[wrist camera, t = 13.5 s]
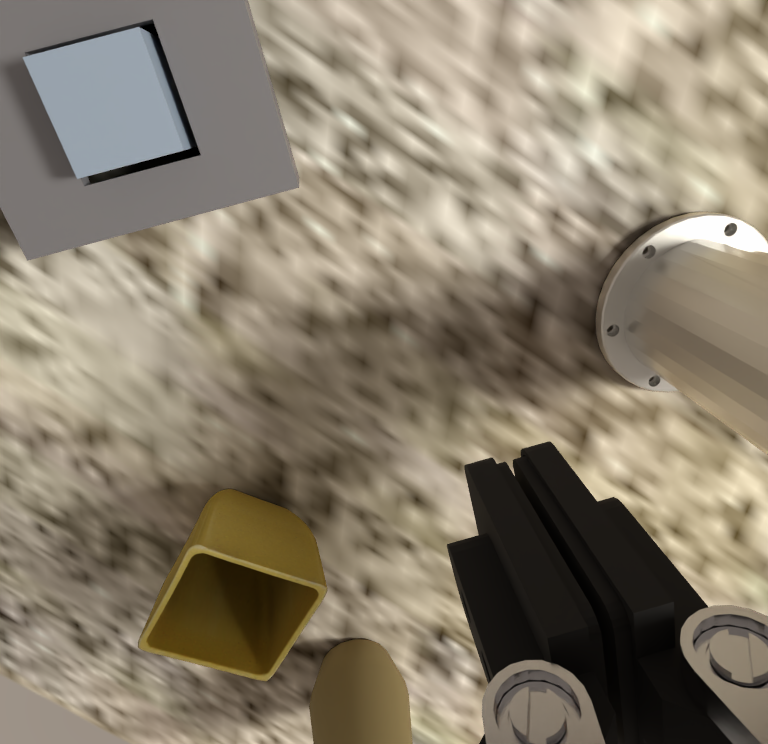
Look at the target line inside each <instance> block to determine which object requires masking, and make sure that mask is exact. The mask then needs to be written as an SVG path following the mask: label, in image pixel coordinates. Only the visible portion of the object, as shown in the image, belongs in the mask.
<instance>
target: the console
mask: <svg viewBox="0 0 768 744" xmlns="http://www.w3.org/2000/svg"><path fill="white" fill-rule="evenodd" d="M153 23H154V24H155V27H156V30H157V33H158V36H159V38H160V41H161V44H162V47H163V50H164V52H165V55H166V58H167V61H168V64H169V67H170V69H171V72H172V75H173V78H174V81H175V83H176V86H177V89H178V92H179V95H180V98H181V100H182V103H183V106H184V109H185V112H186V114H187V117H188V120H189V123H190V126H191V129H192V131H193V134H194V137H195V140H196V143H197V145H198V148H199V151H200V154H201V155H198V156H194V157H191V158H187V159H183V160H179V161H176V162H172V163H168V164H164V165H161V166H157V167H153V168H149V169H146V170H142V171H138V172H134V173H131V174H127V175H123V176H119V177H116V178H112V179H108V180H104V181H101V182H97V183H93V184H91V183H90V181H89V179H88V177H87V176H86V177H83V178H79V179H77V177H76V175H75V173H74V171H73V169H72V166H71V164H70V162H69V160H68V157H67V155H66V153H65V151H64V149H63V146H62V144H61V142H60V140H59V137H58V135H57V133H56V131H55V129H54V126H53V124H52V122H51V120H50V117H49V115H48V113H47V111H46V109H45V106H44V104H43V102H42V100H41V97H40V95H39V93H38V91H37V88H36V86H35V84H34V82H33V80H32V77H31V75H30V73H29V71H28V68H27V66H26V64H25V62H24V60H23V57H26V56H29V55H33V54H37V53H41V52H45V51H48V50H52V49H56V48H60V47H64V46H68V45H71V44H75V43H79V42H83V41H87V40H90V39H94V38H98V37H102V36H106V35H110V34H113V33H117V32H121V31H125V30H129V29H133V28H136V27H142V26H146V25H150V24H153ZM295 188H299V176H298V172H297V169H296V165H295V162H294V158H293V155H292V151H291V148H290V145H289V141H288V138H287V134H286V131H285V127H284V124H283V120H282V117H281V114H280V110H279V107H278V103H277V100H276V96H275V93H274V89H273V86H272V83H271V79H270V76H269V72H268V69H267V65H266V62H265V58H264V55H263V52H262V48H261V45H260V41H259V38H258V34H257V31H256V27H255V24H254V21H253V17H252V14H251V10H250V7H249V3H248V0H0V208H1V210H2V212H3V214H4V216H5V218H6V220H7V222H8V224H9V226H10V228H11V229H12V231H13V233H14V235H15V237H16V239H17V241H18V243H19V245H20V247H21V249H22V251H23V253H24V255H25V257H26V259H27V260H31V259H35V258H39V257H42V256H46V255H50V254H53V253H57V252H61V251H65V250H68V249H72V248H76V247H79V246H83V245H87V244H91V243H94V242H98V241H102V240H105V239H109V238H113V237H117V236H120V235H124V234H128V233H131V232H135V231H139V230H143V229H146V228H150V227H154V226H157V225H161V224H165V223H169V222H172V221H176V220H180V219H184V218H187V217H191V216H195V215H198V214H202V213H206V212H210V211H213V210H217V209H221V208H224V207H228V206H232V205H236V204H239V203H243V202H247V201H250V200H254V199H258V198H262V197H265V196H269V195H273V194H276V193H280V192H284V191H288V190H291V189H295Z"/></svg>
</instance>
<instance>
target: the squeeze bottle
mask: <svg viewBox="0 0 768 744" xmlns="http://www.w3.org/2000/svg"><path fill="white" fill-rule="evenodd" d="M309 709H310V717H311V725H312V733H313V741H314V744H412V731H411V718H410V706H409V694H408V690H407V687H406V683H405V681H404V679H403V677H402V675H401V674H400V672H399V670H398V669H397V667H396V665H395V664H394V662H393V660H392V659H391V657H390V655H389V654H388V652H387V651H386V650H385V649H384V648H383V647H382V646H381V645H380V644H378V643H376V642H373V641H370V640H361V639H354V640H350V641H346V642H343V643H340V644H339V645H337V646H335V647H334V648H332V649H331V650H330V651H329V652H328V653H327V655H326V656H325V657H324V659H323V662H322V665H321V667H320V670H319V673H318V676H317V679H316V682H315V685H314V688H313V691H312V695H311V700H310V705H309Z"/></svg>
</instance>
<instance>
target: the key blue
mask: <svg viewBox="0 0 768 744" xmlns="http://www.w3.org/2000/svg"><path fill="white" fill-rule="evenodd" d="M23 60H24V62H25V64H26V66H27V68H28V71H29V73H30V75H31V77H32V80H33V82H34V84H35V86H36V88H37V91H38V93H39V95H40V97H41V100H42V102H43V104H44V106H45V109H46V111H47V113H48V115H49V117H50V120H51V122H52V124H53V126H54V129H55V131H56V133H57V135H58V137H59V140H60V142H61V144H62V146H63V149H64V151H65V153H66V155H67V157H68V160H69V162H70V164H71V166H72V169H73V171H74V173H75V175H76V177H77V179H79V178H83V177H86V176H90V175H94V174H98V173H101V172H105V171H109V170H113V169H116V168H120V167H124V166H128V165H131V164H135V163H139V162H143V161H146V160H150V159H154V158H158V157H161V156H165V155H169V154H173V153H176V152H180V151H184V150H187V149H190V148H194V147H197V146H198V145H197V143H196V140H195V137H194V134H193V131H192V129H191V126H190V123H189V120H188V117H187V114H186V112H185V109H184V106H183V103H182V100H181V98H180V95H179V92H178V89H177V86H176V83H175V81H174V78H173V75H172V72H171V69H170V67H169V64H168V61H167V58H166V55H165V52H164V50H163V47H162V44H161V41H160V38H158V37H157V36H155V35H153V34H151V33H149V32H147V31H146V30H144V29H142V28H140V27H136V28H133V29H129V30H125V31H121V32H117V33H113V34H110V35H106V36H102V37H98V38H94V39H90V40H87V41H83V42H79V43H75V44H71V45H68V46H64V47H60V48H56V49H52V50H48V51H45V52H41V53H37V54H33V55H29V56H26V57H23Z"/></svg>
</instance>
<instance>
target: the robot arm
mask: <svg viewBox="0 0 768 744" xmlns="http://www.w3.org/2000/svg"><path fill="white" fill-rule="evenodd" d="M644 249H645V250H644ZM643 250H644V251H643ZM609 326H610V327H609ZM596 335H597V339H598V343H599V347H600V349H601V351H602V353H603V355H604V357H605V359H606V361H607V362H608V363H609V365H610V366H611V367H612V368H613V369H614V370H615V372H617V373H618V374H619V375H621V376H622V377H623V378H624V379H625V380H627V381H628V382H630V383H632V384H634V385H636V386H637V387H640V388H643V389H646V390H649V391H656V392H676V391H680V392H682V393H683V394H684V395H686V396H687V397H689V398H690V399H691V400H693V401H694V402H695V403H697V404H698V405H700V406H701V407H702V408H704V409H705V410H706V411H708V412H709V413H711V414H712V415H713V416H715V417H716V418H717V419H719V420H720V421H722V422H723V423H724V424H726V425H727V426H728V427H730V428H731V429H733V430H734V431H735V432H737V433H738V434H739V435H741V436H742V437H744V438H745V439H746V440H748V441H749V442H750V443H752V444H753V445H754V446H756V447H757V448H759V449H760V450H761V451H763V452H764V453H765V454H767V455H768V242H767V240H766V239H765V237H764V236H763V235H762V234H761V233H760V232H759V231H758V230H757V229H756V228H755V227H754V226H752V225H751V224H749V223H747V222H745V221H743V220H742V219H740V218H736V217H733V216H729V215H726V214H720V213H713V212H696V213H688V214H684V215H681V216H677V217H673V218H671V219H669V220H667V221H665V222H662V223H660V224H658V225H656V226H654V227H653V228H652V229H650V230H649V231H647V232H646V233H644V234H643V235H642V236H640V237H639V238H638V239H637V240H636V241H635V242H634V243H633V244H631V245H630V246H629V247H628V248H627V249H626V250H625V251H624V253H623V254H622V255H621V257H620V258H619V259H618V261H617V262H616V263H615V264H614V266H613V267H612V269H611V271H610V273H609V275H608V277H607V279H606V280H605V282H604V285H603V288H602V290H601V293H600V296H599V299H598V304H597V311H596ZM464 467H465V474H466V478H467V483H468V488H469V492H470V497H471V501H472V506H473V511H474V515H475V520H476V524H477V529H478V534H479V535H478V536H475V537H471V538H468V539H464V540H461V541H457V542H454V543H450V544H447V548H448V552H449V557H450V560H451V564H452V568H453V572H454V576H455V580H456V584H457V587H458V591H459V594H460V598H461V601H462V604H463V608H464V611H465V614H466V617H467V620H468V623H469V627H470V630H471V633H472V636H473V639H474V642H475V645H476V648H477V651H478V654H479V657H480V660H481V663H482V666H483V669H484V672H485V675H486V678H487V681H488V686H487V689H486V691H485V694H484V697H483V700H482V718H483V725H484V732H485V734H484V736H483V738H482V740H481V741H480V743H479V744H768V616H766V615H763V614H761V613H758V612H756V611H754V610H751V609H747V608H742V607H737V606H732V605H725V606H711V607H708V606H707V605H706V604H705V602H704V601H703V600H702V599H701V597H700V596H699V595H698V594H697V593H696V591H695V590H694V589H693V588H692V587H691V585H690V584H689V583H688V582H687V581H686V579H685V578H684V577H683V576H682V575H681V573H680V572H679V571H678V570H677V569H676V567H675V566H674V565H673V564H672V562H671V561H670V560H669V559H668V558H667V556H666V555H665V554H664V553H663V552H662V550H661V549H660V548H659V547H658V546H657V544H656V543H655V542H654V541H653V540H652V538H651V537H650V536H649V535H648V534H647V532H646V531H645V530H644V529H643V527H642V526H641V525H640V524H639V523H638V521H637V520H636V519H635V518H634V517H633V515H632V514H631V513H630V512H629V511H628V509H627V508H626V507H625V506H624V505H623V504H622V503H621V502H620V501H619V500H618V499H617V498H614V497H612V498H609V499H605V500H602V501H598V502H597V501H596V499H595V498H594V497H593V496H592V494H591V493H590V492H589V490H588V489H587V488H586V486H585V485H584V484H583V483H582V481H581V480H580V479H579V477H578V476H577V475H576V473H575V472H574V471H573V469H572V468H571V467H570V466H569V464H568V463H567V462H566V460H565V459H564V458H563V456H562V455H561V454H560V453H559V451H558V450H557V449H556V447H555V446H554V445H553V444H552V443H551V442H545V443H542V444H538V445H535V446H531V447H528V448H524V449H522V450H521V457H520V458H517V459H514V460H513V468H514V474H515V476H514V475H513V473H512V471H511V470H510V468H509V466H508V465H507V463H506V462H503V463H499V464H496V462H495V460H494V459H493V458H488V459H485V460H481V461H478V462H474V463H471V464H467V465H465V466H464Z"/></svg>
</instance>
